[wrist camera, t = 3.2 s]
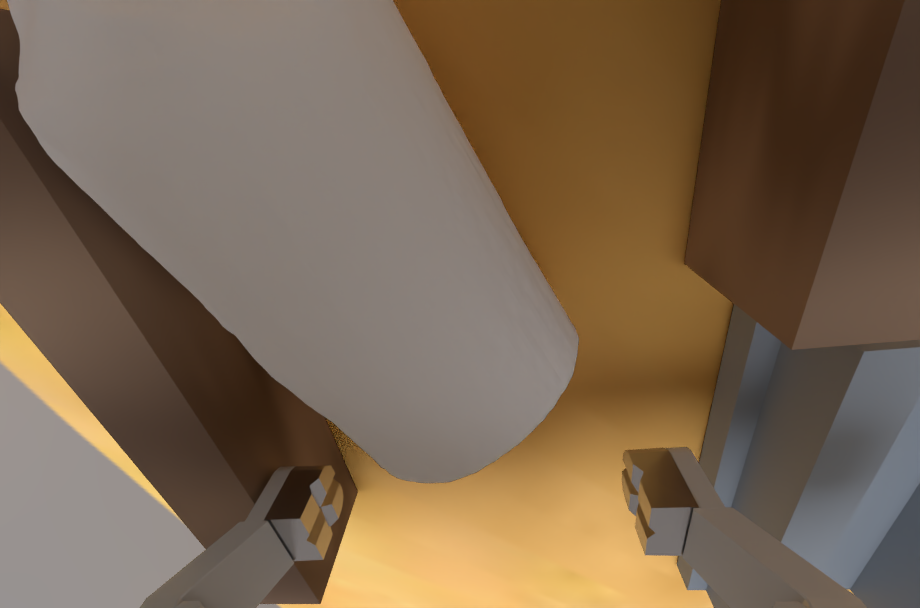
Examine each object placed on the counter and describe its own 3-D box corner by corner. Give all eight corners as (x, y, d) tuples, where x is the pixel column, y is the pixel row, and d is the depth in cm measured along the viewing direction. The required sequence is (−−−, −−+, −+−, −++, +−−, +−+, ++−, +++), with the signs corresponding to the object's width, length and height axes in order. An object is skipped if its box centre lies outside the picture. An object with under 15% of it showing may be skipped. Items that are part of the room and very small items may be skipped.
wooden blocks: (34, 8, 8) (-308, -66, 5) (912, -210, 6) (1518, -659, 2) (303, 494, 16) (251, 603, 12) (724, 477, 14) (804, 603, 10)
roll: (253, -276, 6) (-670, -1790, 1) (559, 283, 11) (623, 436, 6) (65, -24, 8) (-619, -231, 3) (395, 364, 12) (336, 534, 8)
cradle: (736, 290, 10) (823, 354, 8) (1106, 253, 9) (1355, 313, 7) (676, 564, 17) (712, 650, 14) (889, 561, 16) (970, 654, 13)
